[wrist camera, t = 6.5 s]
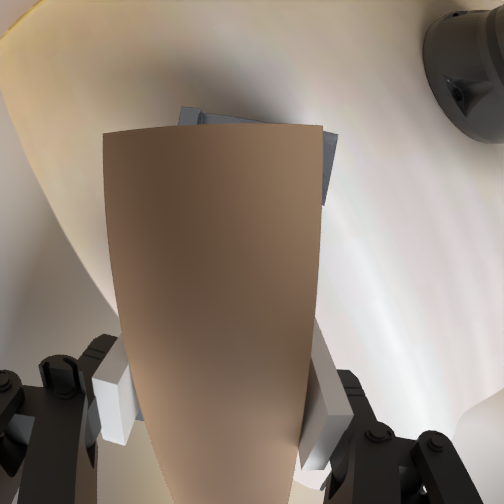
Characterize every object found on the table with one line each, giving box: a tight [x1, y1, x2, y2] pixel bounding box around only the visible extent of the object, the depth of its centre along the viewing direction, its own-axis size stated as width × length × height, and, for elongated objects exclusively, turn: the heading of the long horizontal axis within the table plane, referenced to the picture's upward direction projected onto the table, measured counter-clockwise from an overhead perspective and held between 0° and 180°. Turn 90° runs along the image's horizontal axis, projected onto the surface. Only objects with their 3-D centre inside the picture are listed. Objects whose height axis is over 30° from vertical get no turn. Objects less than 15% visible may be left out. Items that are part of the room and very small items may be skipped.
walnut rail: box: [103, 123, 323, 504], centre depth 11 cm, size 5×16×6 cm, turn 0°
